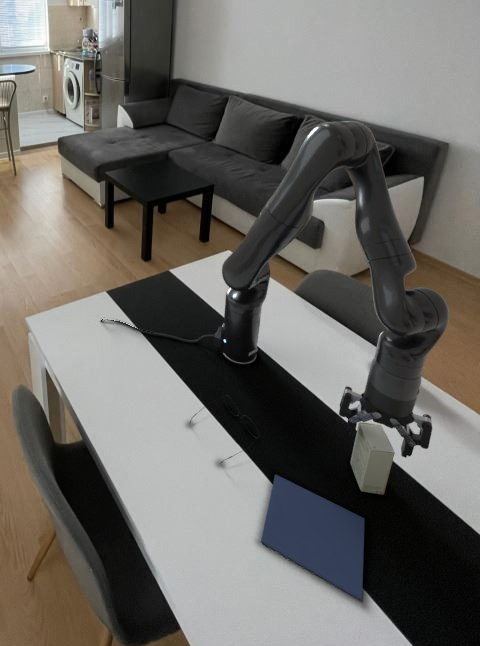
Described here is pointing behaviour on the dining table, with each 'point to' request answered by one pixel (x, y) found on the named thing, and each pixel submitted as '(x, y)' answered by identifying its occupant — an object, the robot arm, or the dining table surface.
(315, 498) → the cloth
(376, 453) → the cosmetic box
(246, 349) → the robot arm
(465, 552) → the dining table surface
